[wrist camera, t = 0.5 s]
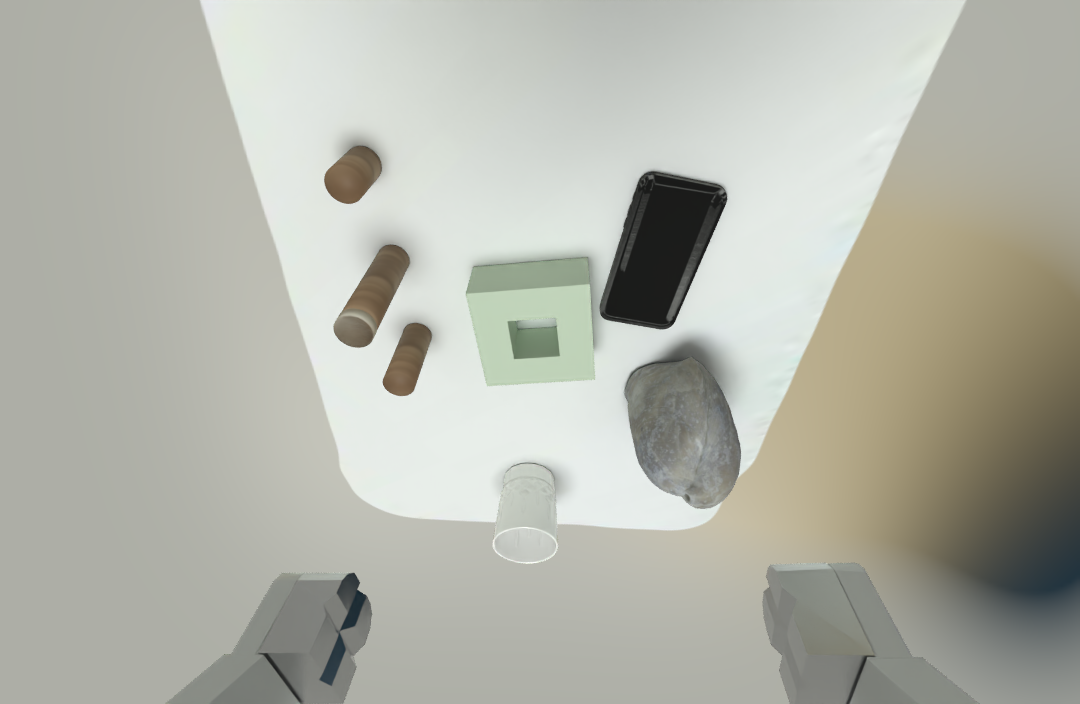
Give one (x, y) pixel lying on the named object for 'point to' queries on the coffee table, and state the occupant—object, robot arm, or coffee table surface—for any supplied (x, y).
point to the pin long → (372, 297)
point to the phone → (661, 249)
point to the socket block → (529, 296)
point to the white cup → (527, 515)
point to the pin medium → (407, 360)
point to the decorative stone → (683, 431)
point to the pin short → (353, 174)
